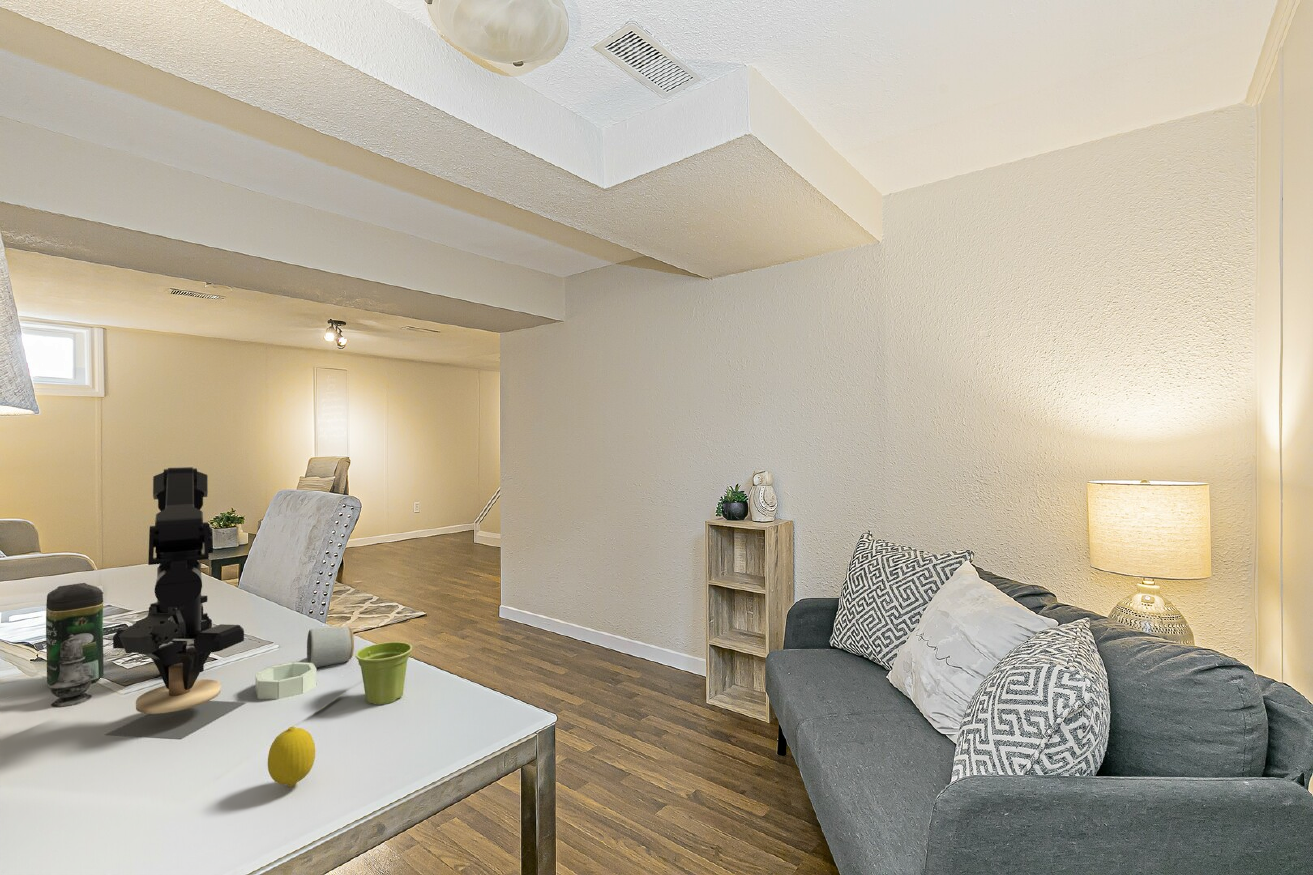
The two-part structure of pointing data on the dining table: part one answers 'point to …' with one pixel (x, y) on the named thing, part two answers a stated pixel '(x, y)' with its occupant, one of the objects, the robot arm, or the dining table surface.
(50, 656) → the coffee jar
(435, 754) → the dining table surface
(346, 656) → the ceramic mug
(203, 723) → the mat
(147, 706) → the lid
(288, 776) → the lemon
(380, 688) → the plant pot
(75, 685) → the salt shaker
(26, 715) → the dining table surface
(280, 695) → the bowl
